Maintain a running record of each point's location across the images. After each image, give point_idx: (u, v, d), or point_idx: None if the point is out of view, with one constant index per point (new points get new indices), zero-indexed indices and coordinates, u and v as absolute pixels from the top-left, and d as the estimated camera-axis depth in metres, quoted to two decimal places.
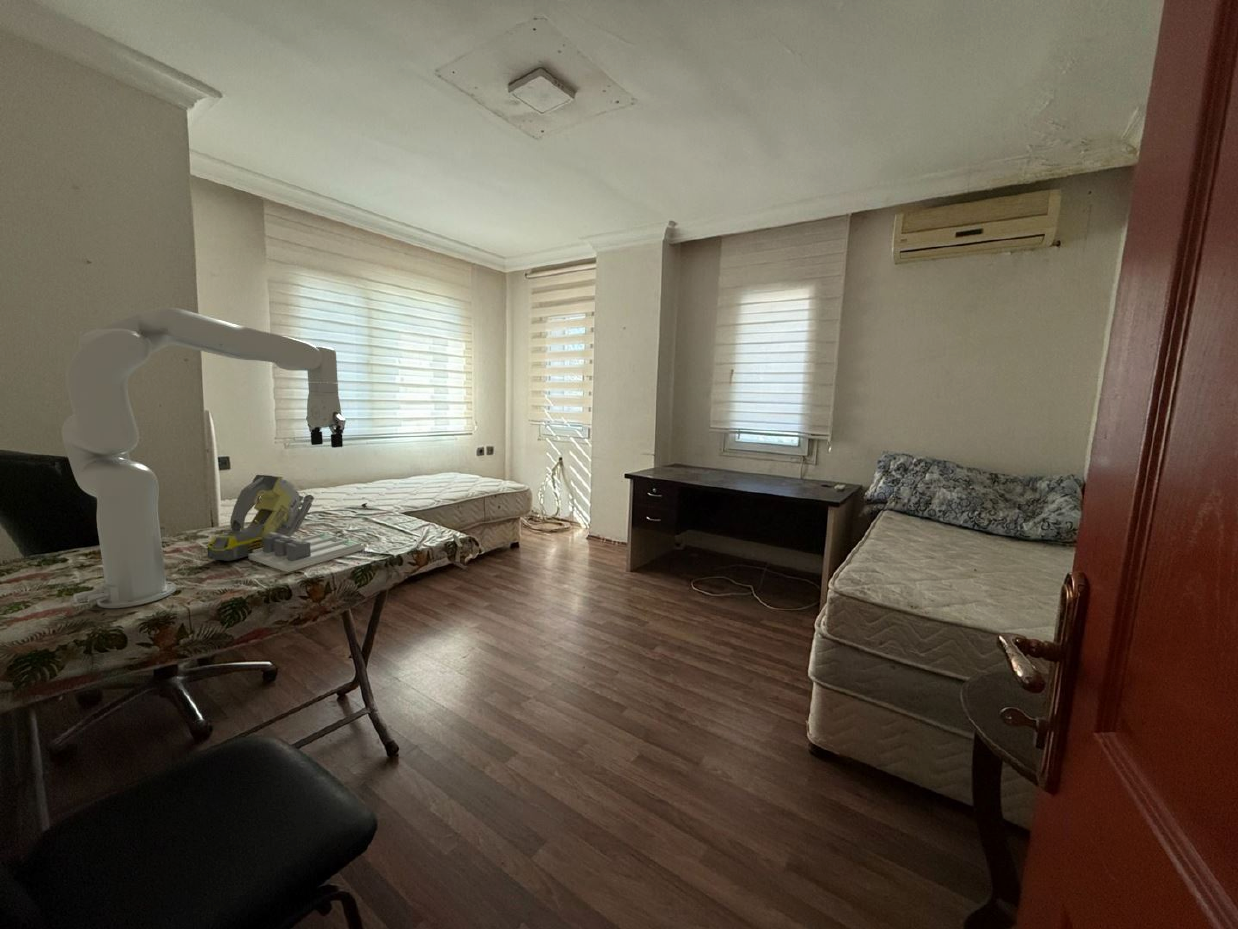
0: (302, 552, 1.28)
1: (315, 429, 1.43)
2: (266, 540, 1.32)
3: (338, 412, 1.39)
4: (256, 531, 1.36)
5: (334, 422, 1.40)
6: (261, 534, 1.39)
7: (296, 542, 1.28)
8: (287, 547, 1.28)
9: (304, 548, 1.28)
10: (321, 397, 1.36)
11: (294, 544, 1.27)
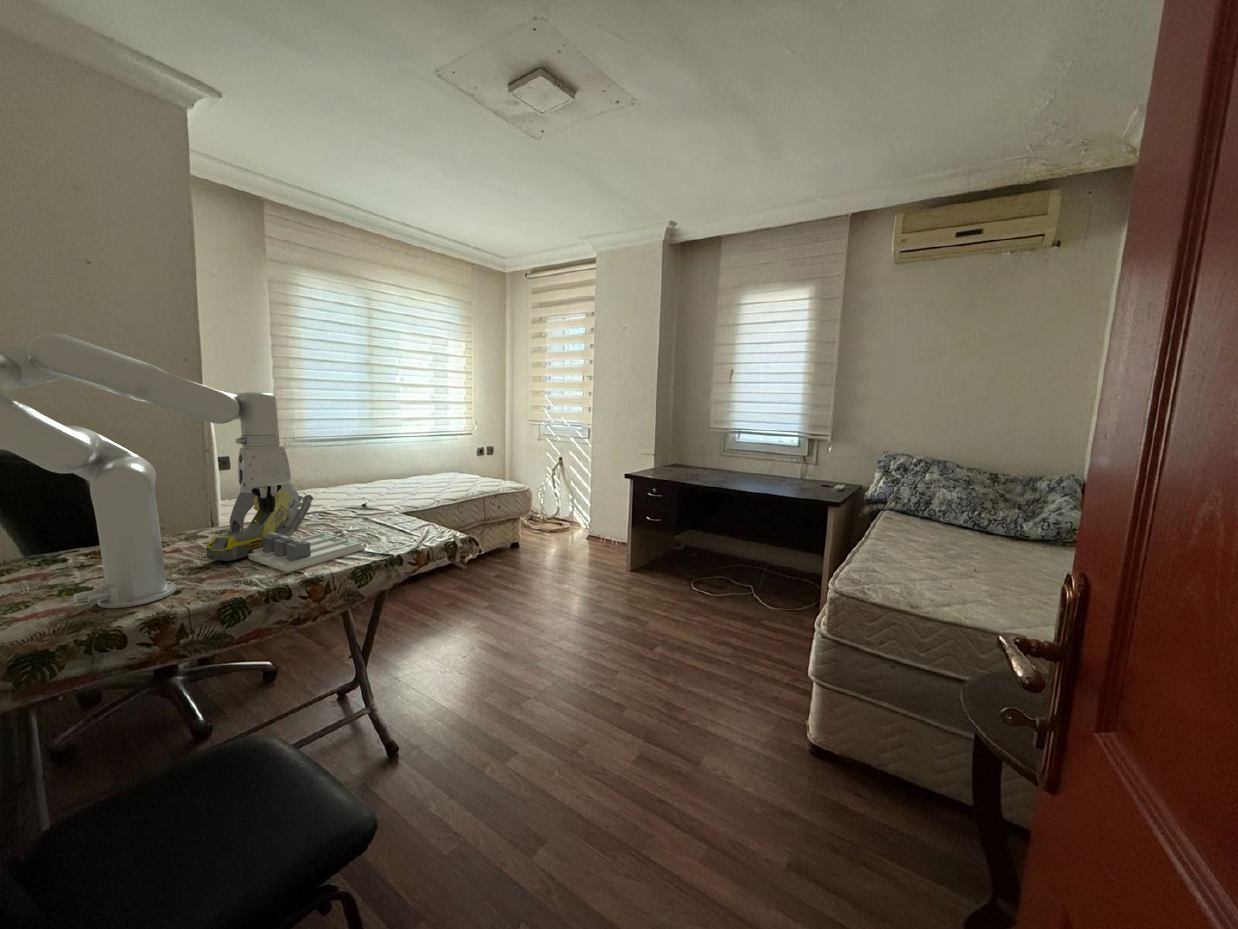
0: (302, 552, 1.28)
1: None
2: (266, 540, 1.32)
3: None
4: (255, 531, 1.36)
5: None
6: (260, 534, 1.39)
7: (296, 542, 1.28)
8: (287, 547, 1.28)
9: (304, 548, 1.28)
10: (280, 450, 1.20)
11: (294, 544, 1.27)
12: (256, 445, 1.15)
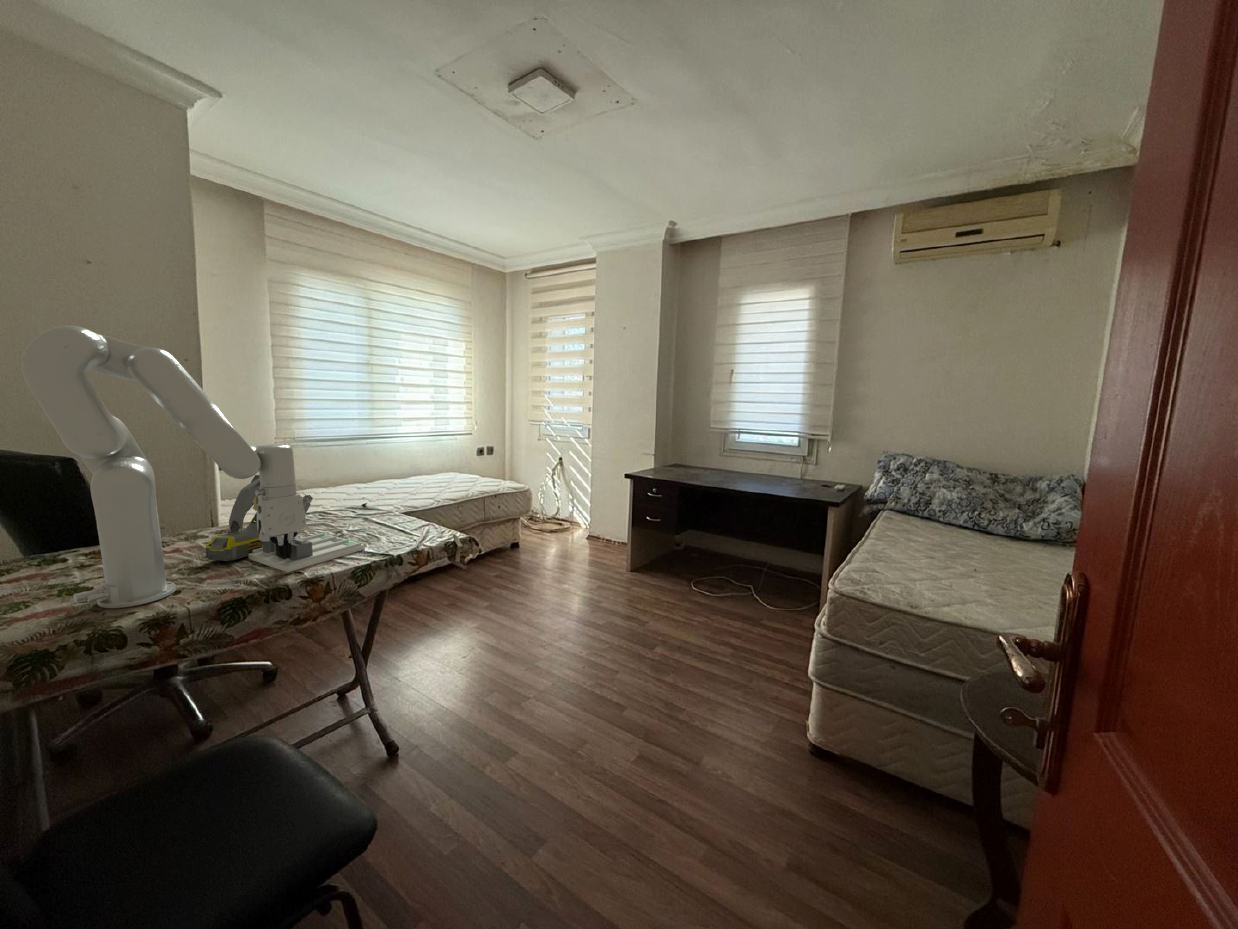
0: (304, 551, 1.28)
1: None
2: None
3: None
4: (255, 531, 1.36)
5: None
6: None
7: (298, 542, 1.29)
8: None
9: (306, 547, 1.29)
10: (297, 499, 1.25)
11: (296, 544, 1.28)
12: (274, 496, 1.20)
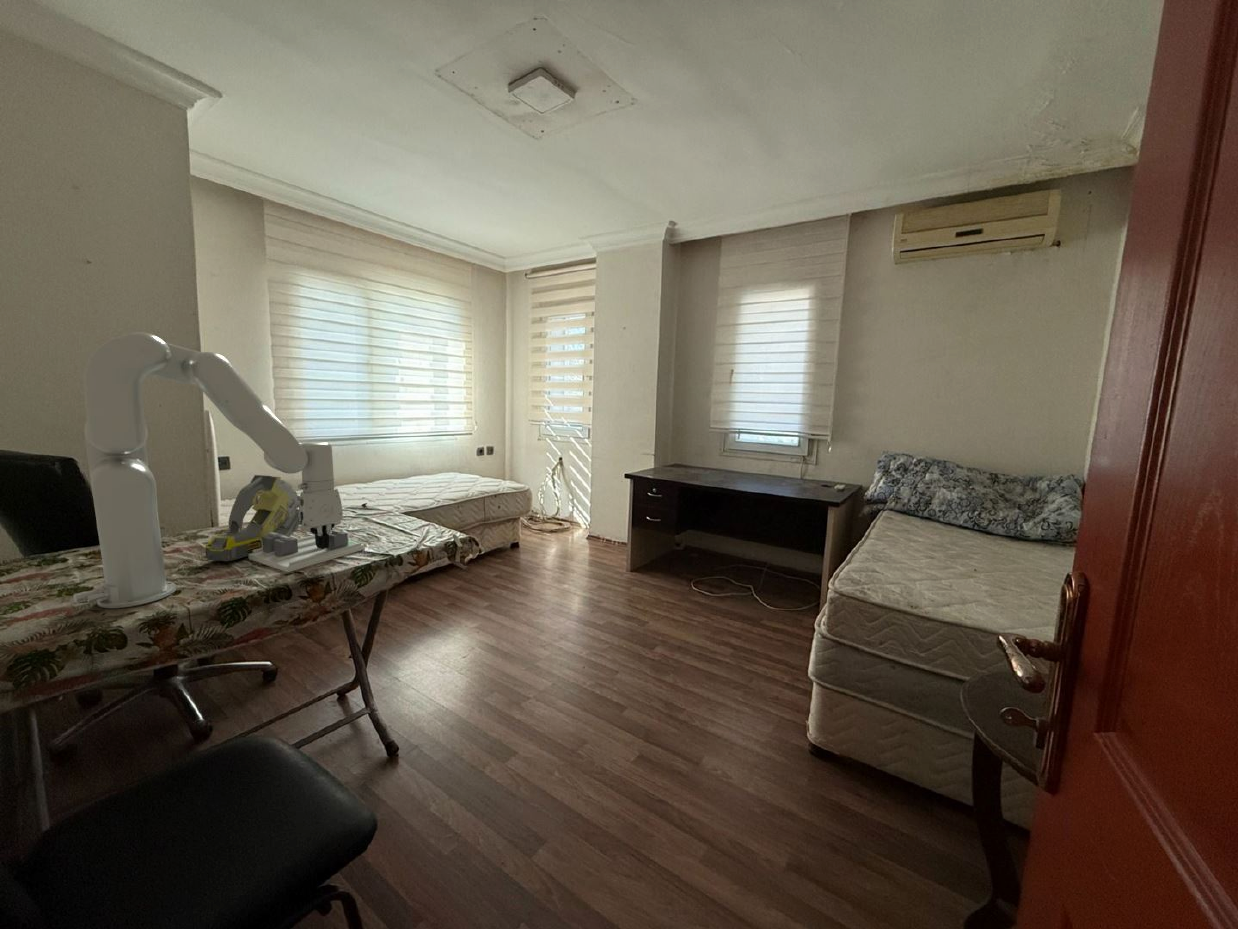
0: (340, 541, 1.38)
1: None
2: (266, 540, 1.32)
3: None
4: (254, 531, 1.36)
5: None
6: (259, 534, 1.38)
7: (335, 532, 1.38)
8: None
9: (342, 538, 1.38)
10: (335, 493, 1.34)
11: (333, 534, 1.37)
12: (315, 490, 1.29)
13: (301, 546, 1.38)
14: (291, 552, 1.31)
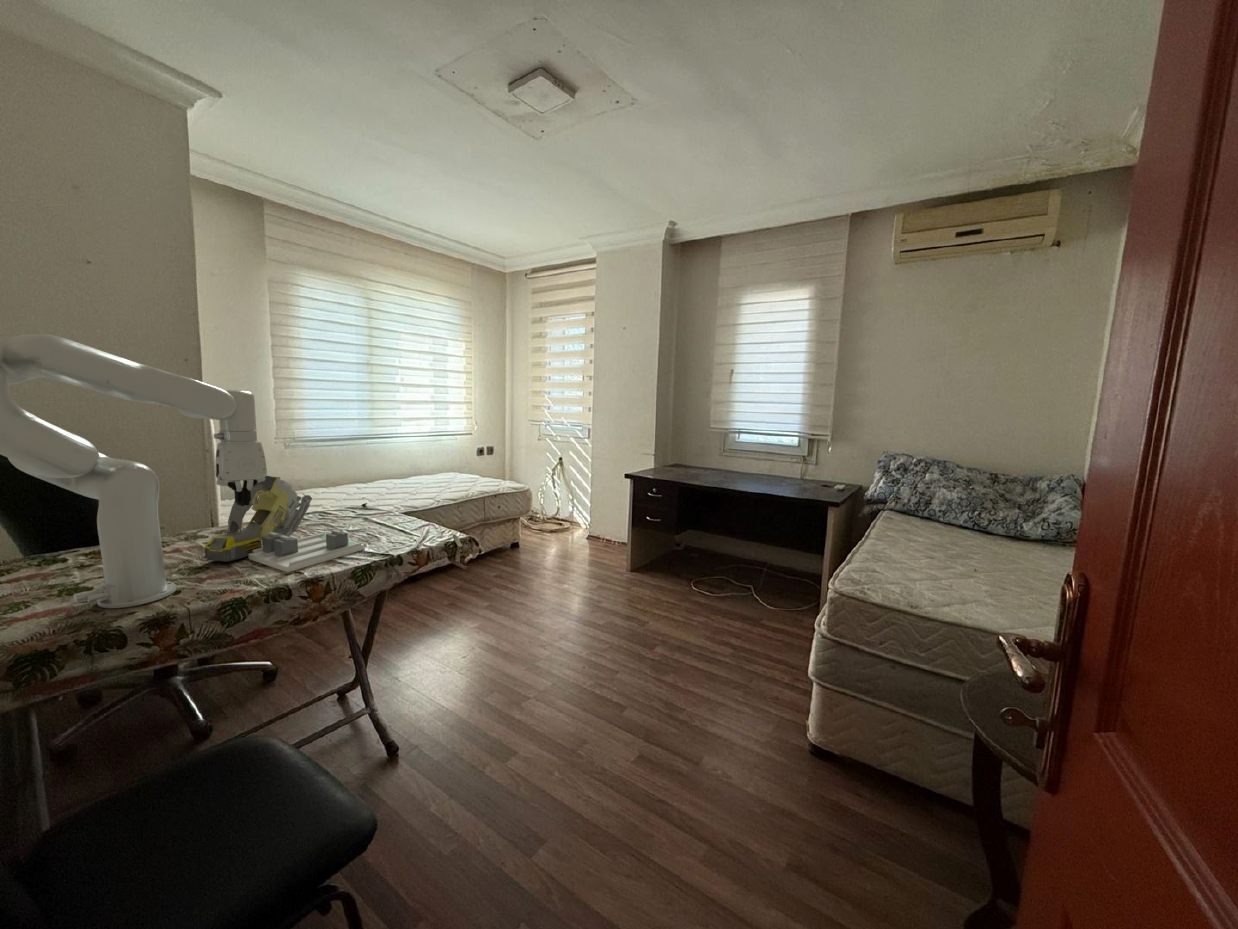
0: (340, 541, 1.38)
1: None
2: (266, 540, 1.32)
3: None
4: (254, 532, 1.36)
5: None
6: (259, 535, 1.38)
7: (335, 532, 1.38)
8: (327, 537, 1.37)
9: (342, 538, 1.38)
10: (257, 446, 1.25)
11: (333, 534, 1.37)
12: (233, 440, 1.20)
13: (301, 546, 1.38)
14: (291, 552, 1.31)
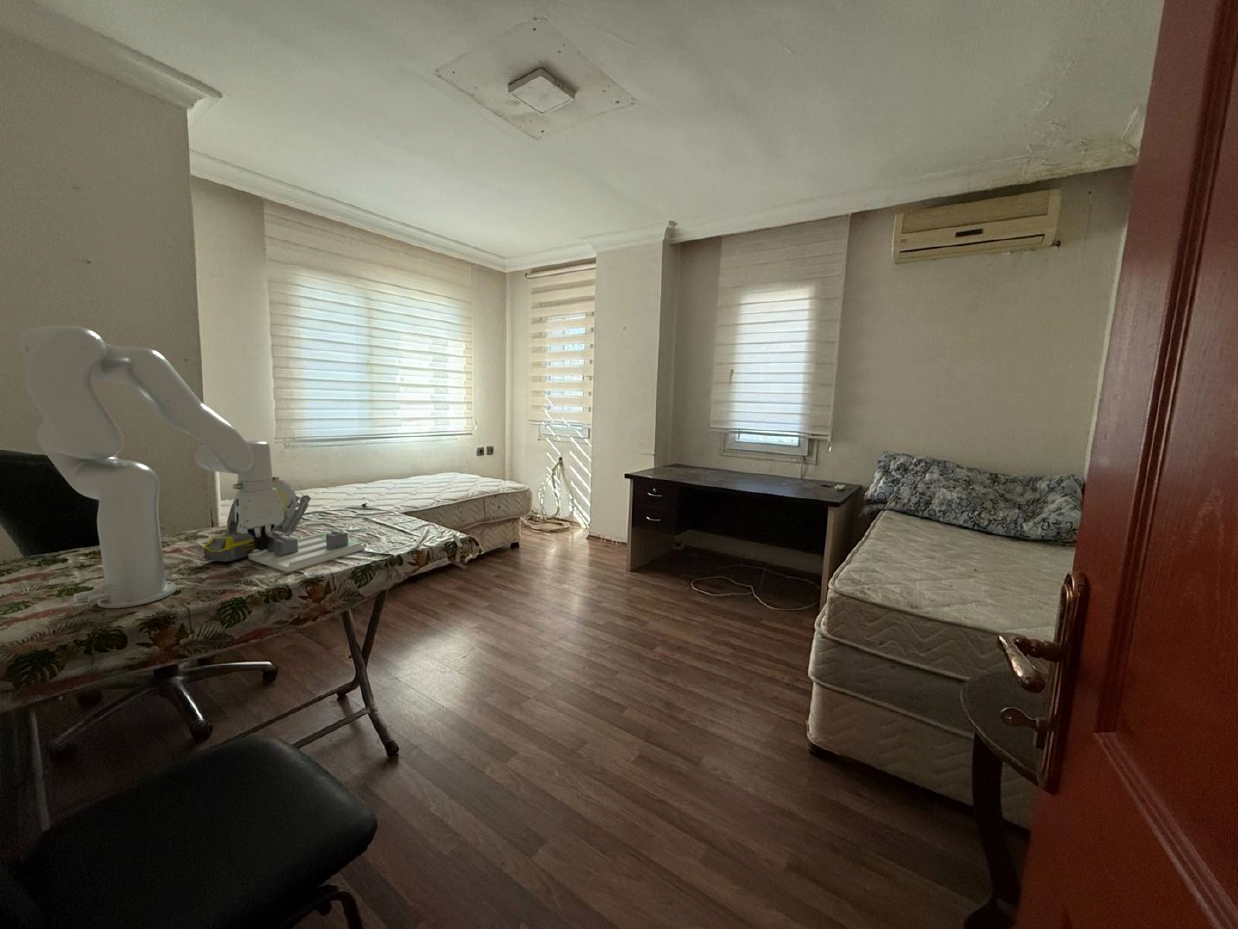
0: (340, 541, 1.38)
1: None
2: (270, 539, 1.33)
3: None
4: None
5: None
6: None
7: (335, 532, 1.38)
8: (327, 537, 1.37)
9: (342, 538, 1.38)
10: (274, 493, 1.31)
11: (333, 534, 1.37)
12: (251, 490, 1.25)
13: (301, 546, 1.38)
14: (291, 552, 1.31)
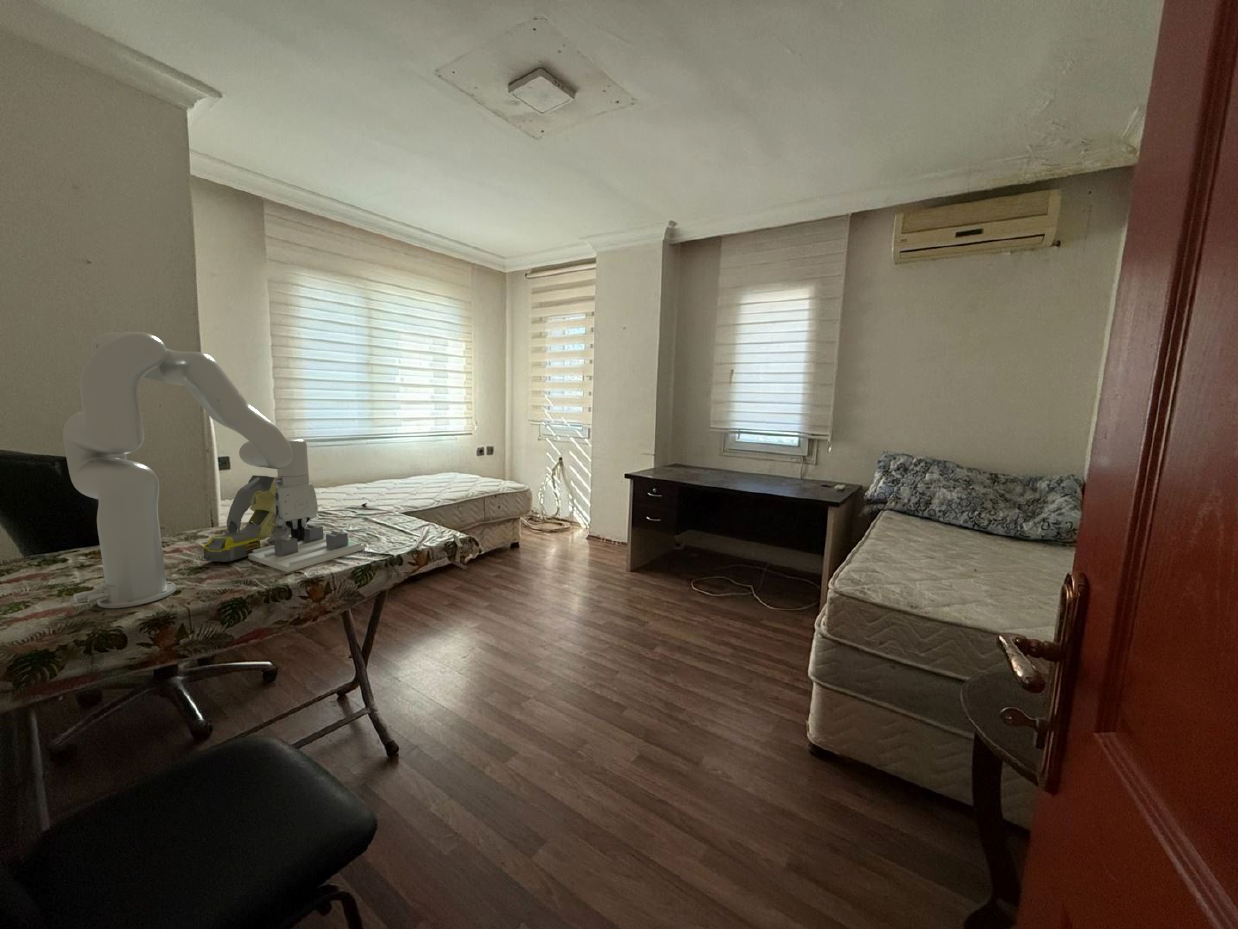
0: (340, 541, 1.38)
1: None
2: (306, 531, 1.42)
3: None
4: (253, 532, 1.35)
5: None
6: (258, 535, 1.38)
7: (335, 532, 1.38)
8: (327, 537, 1.37)
9: (342, 538, 1.38)
10: (310, 488, 1.39)
11: (333, 534, 1.37)
12: (290, 484, 1.34)
13: (301, 546, 1.38)
14: (291, 552, 1.31)
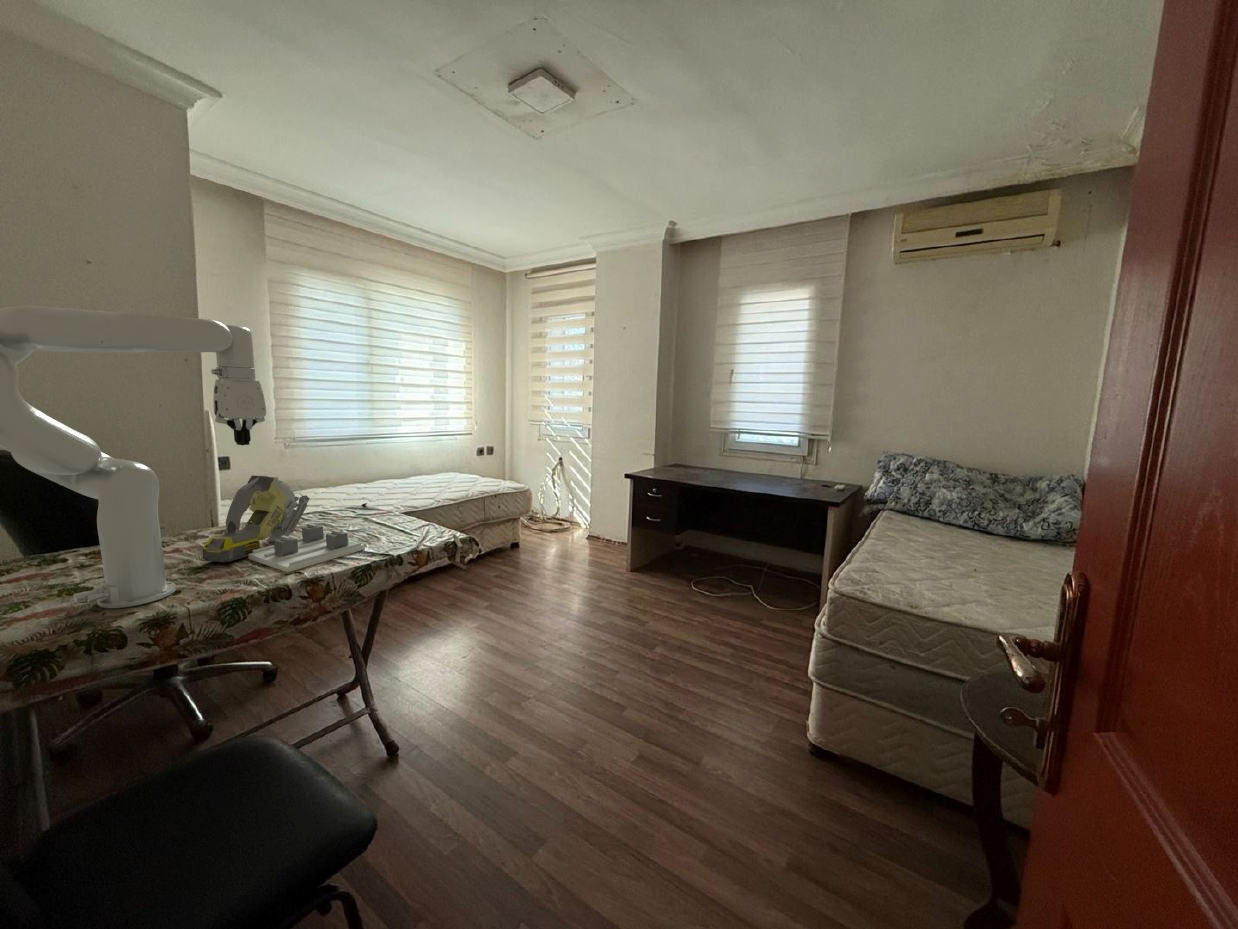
0: (340, 541, 1.38)
1: None
2: (306, 531, 1.42)
3: None
4: (252, 532, 1.35)
5: None
6: (257, 535, 1.38)
7: (335, 532, 1.38)
8: (327, 537, 1.37)
9: (342, 538, 1.38)
10: (256, 385, 1.23)
11: (333, 534, 1.37)
12: (231, 376, 1.18)
13: (301, 546, 1.38)
14: (291, 552, 1.31)
